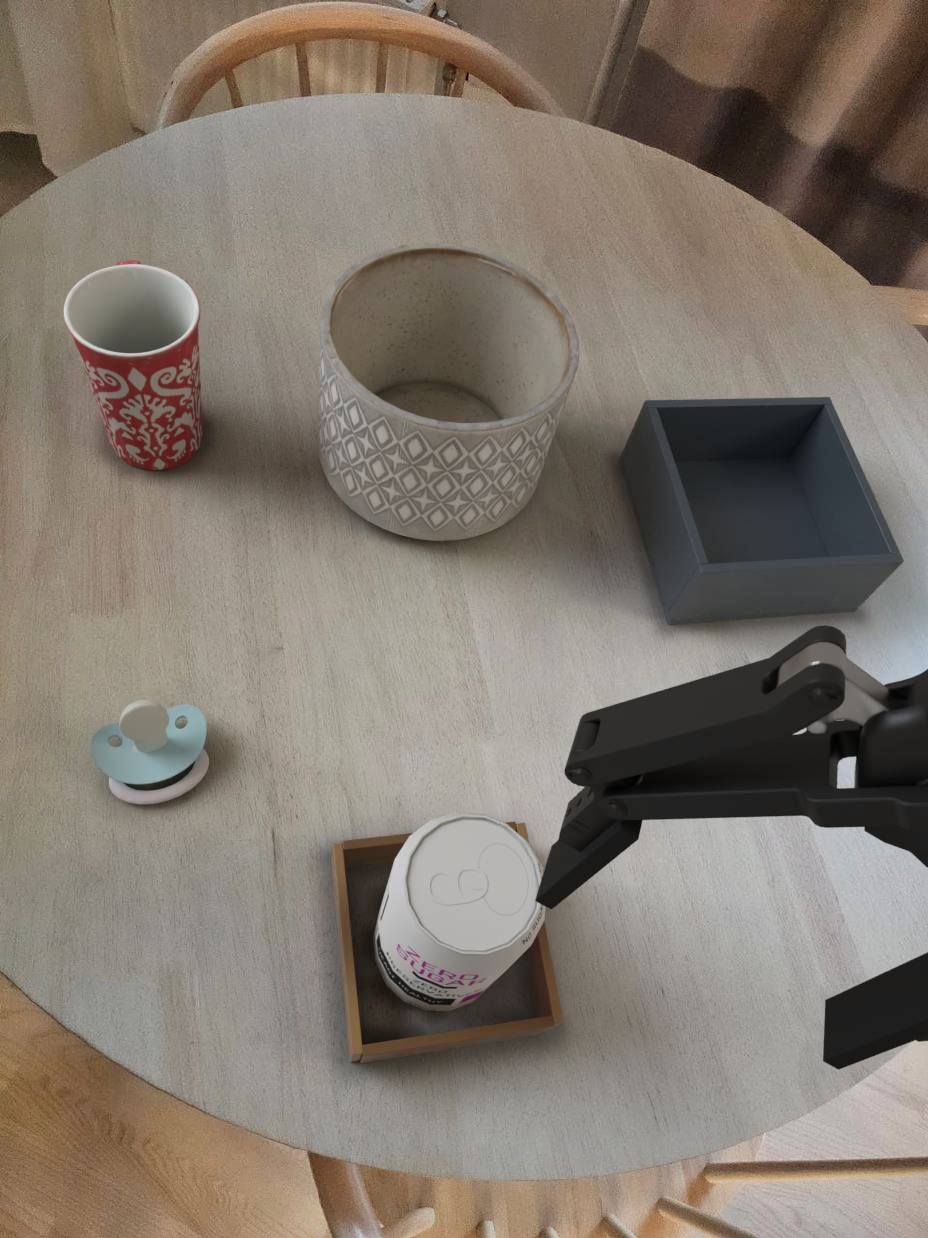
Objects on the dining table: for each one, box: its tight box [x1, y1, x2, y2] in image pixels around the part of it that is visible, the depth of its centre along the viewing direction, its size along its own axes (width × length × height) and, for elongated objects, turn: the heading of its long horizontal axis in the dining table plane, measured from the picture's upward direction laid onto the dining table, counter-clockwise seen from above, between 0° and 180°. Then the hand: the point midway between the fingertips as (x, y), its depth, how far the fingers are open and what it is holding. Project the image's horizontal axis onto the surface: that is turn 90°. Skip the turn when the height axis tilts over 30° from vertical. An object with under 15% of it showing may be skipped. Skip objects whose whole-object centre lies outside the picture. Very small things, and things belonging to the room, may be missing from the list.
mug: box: [62, 259, 204, 471], centre depth 72 cm, size 13×9×14 cm
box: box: [330, 821, 564, 1064], centre depth 58 cm, size 12×12×4 cm
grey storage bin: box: [618, 396, 905, 626], centre depth 77 cm, size 17×17×8 cm
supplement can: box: [372, 812, 547, 1012], centre depth 54 cm, size 8×8×15 cm
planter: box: [317, 242, 580, 542], centre depth 74 cm, size 19×19×14 cm
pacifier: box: [89, 699, 210, 805], centre depth 61 cm, size 7×6×6 cm
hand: (692, 957), depth 39 cm, fingers open, 13 cm apart
